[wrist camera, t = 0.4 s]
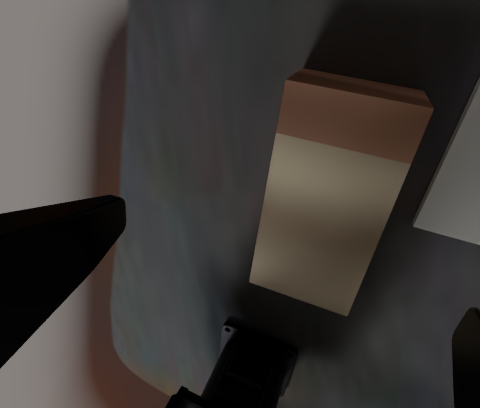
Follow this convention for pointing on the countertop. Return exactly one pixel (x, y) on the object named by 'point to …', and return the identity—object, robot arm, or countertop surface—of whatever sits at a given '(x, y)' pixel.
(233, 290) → the countertop surface
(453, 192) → the grey mat
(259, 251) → the beige and brown block
